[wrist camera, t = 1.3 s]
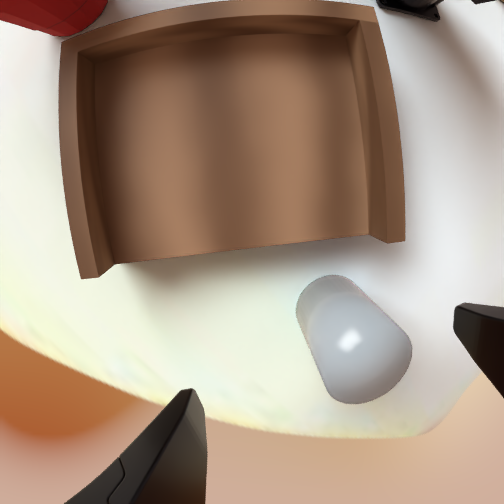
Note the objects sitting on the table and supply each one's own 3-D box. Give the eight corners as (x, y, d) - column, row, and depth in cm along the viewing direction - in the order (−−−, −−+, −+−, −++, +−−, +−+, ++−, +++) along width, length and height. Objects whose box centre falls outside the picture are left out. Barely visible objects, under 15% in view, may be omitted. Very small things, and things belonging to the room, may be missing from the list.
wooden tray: (343, 39, 17) (373, 7, 12) (366, 224, 21) (405, 240, 15) (97, 67, 17) (61, 42, 11) (115, 254, 20) (81, 279, 15)
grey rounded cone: (361, 270, 21) (418, 316, 14) (359, 331, 23) (404, 391, 15) (293, 280, 21) (324, 336, 14) (297, 342, 23) (323, 412, 15)
